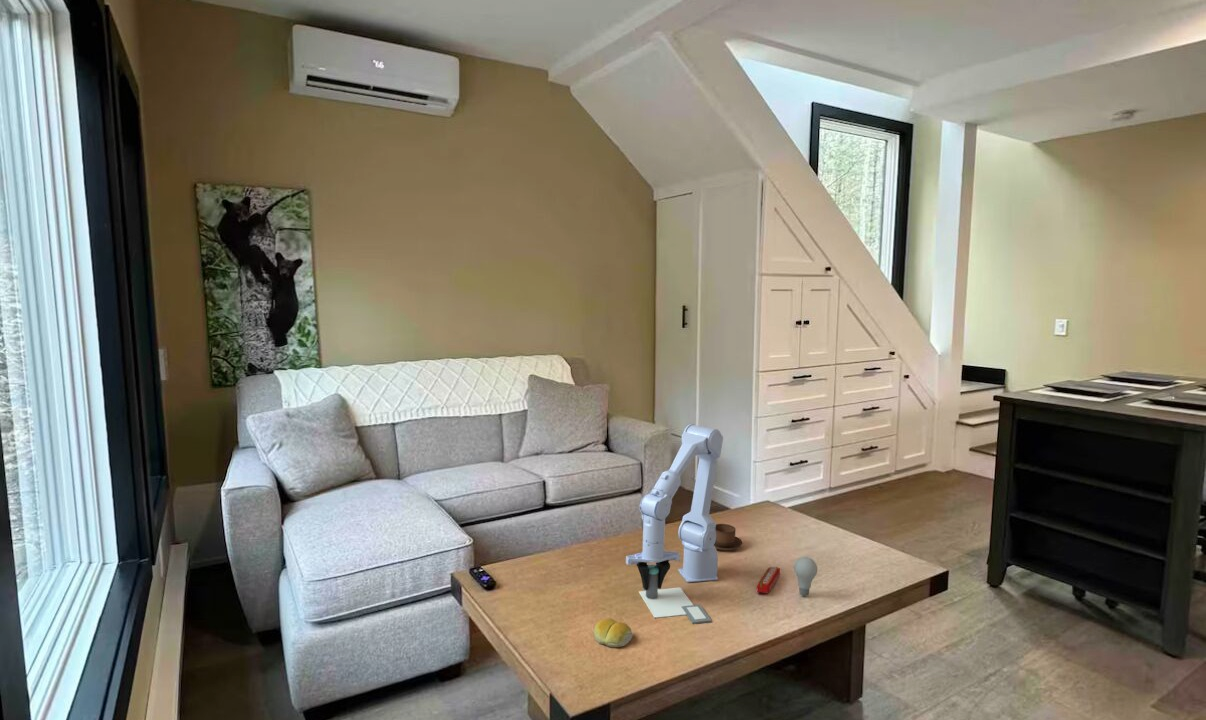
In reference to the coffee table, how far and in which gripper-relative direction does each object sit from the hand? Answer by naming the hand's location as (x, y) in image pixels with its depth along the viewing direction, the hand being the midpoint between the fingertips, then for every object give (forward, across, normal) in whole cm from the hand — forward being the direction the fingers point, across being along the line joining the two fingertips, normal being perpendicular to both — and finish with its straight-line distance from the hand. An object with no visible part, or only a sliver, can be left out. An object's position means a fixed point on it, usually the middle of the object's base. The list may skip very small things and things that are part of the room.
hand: (651, 587), depth 171 cm
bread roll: (+3, +16, +17) cm, 23 cm away
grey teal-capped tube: (+2, 0, 0) cm, 2 cm away
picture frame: (+3, -8, +11) cm, 14 cm away
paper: (+3, -3, +4) cm, 6 cm away
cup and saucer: (+3, -34, -28) cm, 44 cm away
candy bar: (+3, -35, -1) cm, 35 cm away
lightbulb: (+3, -41, +8) cm, 42 cm away
